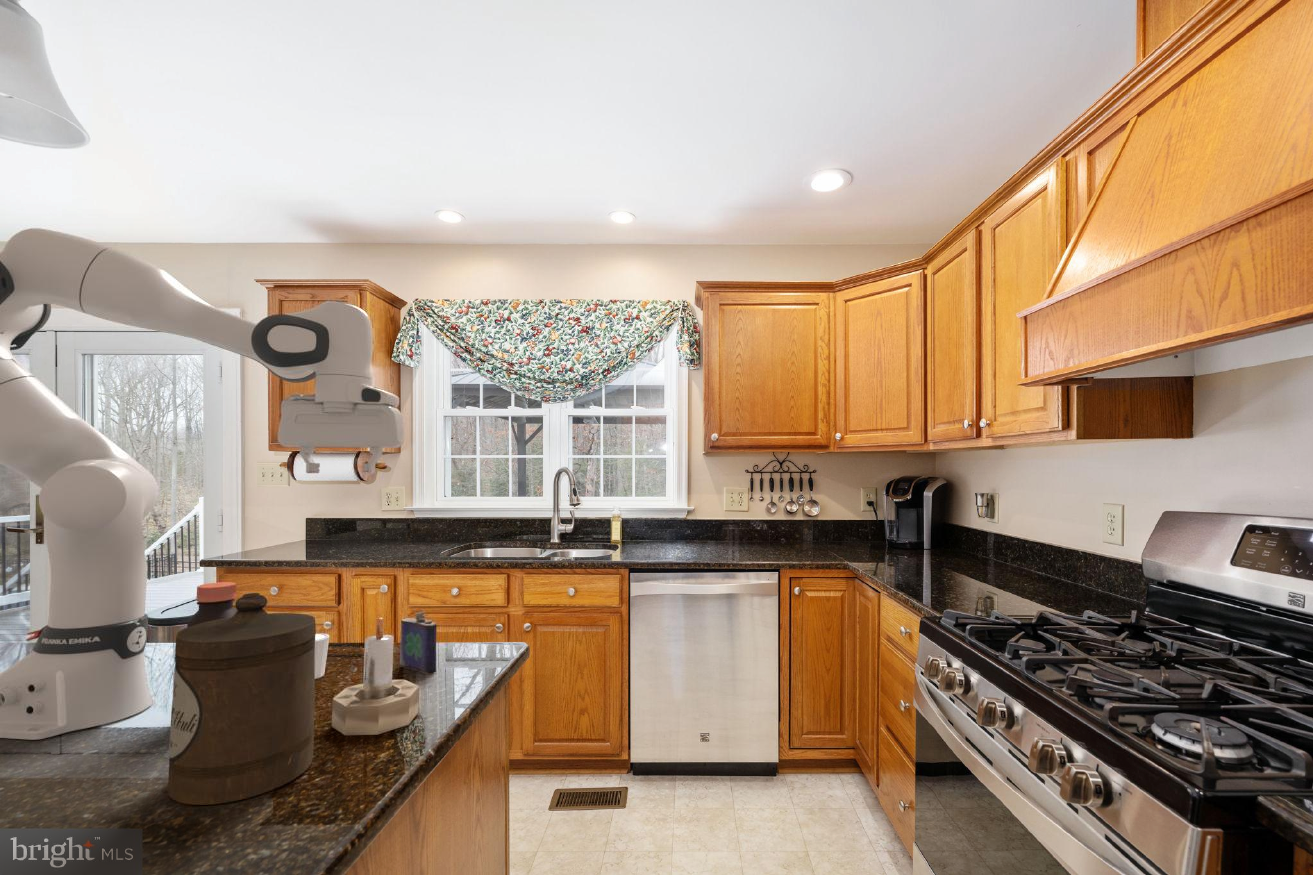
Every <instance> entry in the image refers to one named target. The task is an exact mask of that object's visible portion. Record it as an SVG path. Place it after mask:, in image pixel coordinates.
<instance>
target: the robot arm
mask: <svg viewBox="0 0 1313 875" xmlns="http://www.w3.org/2000/svg"><path fill="white" fill-rule="evenodd" d="M52 305H56V306H60V307H64V308H67V309H71V310H74V311H77V312H81V313H83V314H86V315H90V316H92V317H94V318H95V317H96V318H99V319H103V320H106V321H110V322H113V323H118V324H121V325H126V326H130V327H135V328H140V329H146V330H150V331H157V332H161V333H165V334H166V333H167V334H171V335H176V336H181V337H185V338H189V339H193V340H197V341H199V342H203V343H206V344H208V345H211V346H213V347H217V348H220V349H222V350H227V351H229V352H231V353H234V354H236V355H237V354H238V355H240V356H242V357H246V358H249V359H251V360H254V361H256V362H257V363H259V364H260V365H262V366H263V367H264V368H266V369H267V370H268V371H269V372H270V374H271V373H272V374H273V375H274V376H276V377H277V378H278V379H280V380H282V381H285V382H289V383H295V384H298V383H300V384H301V383H306V382H308V381H311V380H313V379H315V382H314V383H315V384H314V385H315V386H314V394H293V393H292V394H290V395H289V396H287V397H286V398H284V399H283V400H282V401H281V405H280V415H281V416H280V421H279V425H278V431H277V441H278V443H279V444H280V445H281V446H282V447H287V448H299V454H300V456H301V458H302V459H303V461H304V463H305V464H306V465H305V472H306V474H319V473H320V468H321V466H320V465H321V464H320V462H318V463H317V462H315V460H314V458H313V456H312V454H314V452H315V448H369V454H372V455H371V457H370V459H368V460H369V461H368V462H367V463H364V462H363V463H362V468H363V469H362V474H363V475H364V474H369V475H373V474H375V473H376V464H377V463H378V461H380V459H381V457H382V455H383V448H385V449H387V448H393V449H395V448H400V447H401V446H402V445H403V444H404V442H405V429H404V418H403V415H402V412H401V411H400V410H399V409H398V407H399V405H400V397H399V396H397V395H396V394H394V393H391V392H389V391H386V390H383V389H381V388H379V387H376V386H374V387H373V386H372V383H373V378H372V377H373V376H372V374H371V362H372V359H373V352H374V349H373V348H374V342H373V341H374V340H373V339H374V338H373V333H374V332H373V326H372V321H371V319H370V317H369V315H368V314H367V313H366V311H364V310H363V309H362V308H360V307H358V306H356V305H354V304H351V303H348V302H344V301H341V300H326V301H324V302H322V303H320V304H319V305H316V306H314V307H312V308H309V309H305V310H302V311H296V312H290V313H277V314H271V315H269V316H266V317H264V318H263V319H261V320H260V321H259V322H258V323H257V322H253V321H252V320H248V319H246V318H243V317H241V316H238V315H236V314H233V313H231V312H227V311H224V310H222V309H220V308H217V307H215V306H213V305H212V304H209V303H208V302H206V301H204V300H203V299H202V298H200V297H198V296H197V295H196V294H194V293H192V291H191V290H189V289H188V288H187V287H186V286H184V285H183V284H182V283H181V282H179V281H178V280H177V279H176V278H174V277H173V276H172V275H170V274H169V273H168V272H166V271H165V270H163V269H161V268H159V267H158V266H156V265H154V264H153V263H150V262H149V261H147V260H145V259H143V258H141V257H138V256H136V255H134V254H131V253H129V252H126V251H124V250H122V249H118V248H116V247H113V246H110V245H106V244H104V243H101V242H98V241H95V240H92V239H88V238H85V237H82V236H78V235H73V234H69V233H66V232H61V231H57V230H56V231H55V230H51V229H46V228H41V227H40V228H38V227H33V228H26V229H22V230H21V231H19V232H16V233H15V234H14V235H12V236H11V237H10V238H9V240H7V242H6V244H5V245H4V248H3V249H2V251H0V464H1V465H2V466H4V467H6V468H8V469H10V470H12V471H13V472H15V473H17V474H18V475H20V476H22V477H24V478H25V479H26V480H28V481H30V482H32V483H33V484H34V485H36V486H37V487H39V488H40V491H39V495H38V506H39V509H40V511H41V513H42V515H43V522H44V532H45V540H46V546H47V552H48V558H49V566H50V567H49V568H50V587H49V589H50V591H49V607H48V622H47V625H45V626H44V627H41V629H38V630H34V631H31V632H28V633H26V635H27V636H28V635H31V636H29V637H28V638H26V639H25V641H27V642H29V641H33V640H36V639H37V640H36V642H35V644H34V646H33V647H32V648H33V649H32V651H31V652H30V653H29V654H27V655H26V656H24V657H23V658H21V659H19V661H17V662H15V663H14V664H12V665H11V666H10V667H8V668H7V669H5V670H3V671H2V672H1V673H0V738H1V739H13V740H14V739H18V740H36V741H37V740H43V739H46V738H51V737H54V736H58V735H62V734H65V733H69V732H73V731H78V730H82V729H88V728H93V727H99V726H101V725H105V724H106V725H107V724H109V723H113V722H117V721H120V720H123V719H125V718H129V717H131V716H133V715H137V714H138V713H141V712H142V711H144V710H147V708H150V707H151V706H152V704H154V699H153V696H152V693H151V690H150V687H149V681H148V677H147V676H148V675H147V669H146V668H147V667H146V658H145V649H146V644H147V640H148V630H149V628H148V627H149V626H148V625H149V616H148V614H147V613H145V612H146V599H147V597H146V595H147V580H148V579H147V578H148V562H147V559H146V553H145V552H146V551H145V544H144V543H145V542H144V532H143V531H144V530H143V528H144V526H143V519H144V518H145V517H146V516H148V515H149V514H150V513H151V512H152V511H153V510H154V509H155V507H156V504H157V502H158V500H159V496H160V495H159V492H160V491H159V490H160V489H159V485H158V482H157V480H156V478H155V477H154V475H153V474H152V473H151V472H150V471H149V470H147V468H145V467H144V466H143V465H142V464H141V463H139V462H138V461H137V460H136V459H134V458H133V456H131V455H129V454H128V452H126V451H124V449H122V448H121V447H119V445H117V444H116V443H114V442H113V441H112V440H111V439H110V438H108V437H107V436H106V435H104V434H103V433H102V432H100V431H99V430H98V429H96V428H95V427H94V426H93V425H91V424H90V423H89V422H88V421H86V420H85V419H83V418H82V417H81V416H80V415H79V414H78V413H76V412H75V411H74V410H73V409H72V408H71V407H70V406H69V405H67V404H66V402H64V401H63V400H62V399H61V398H59V397H58V396H57V395H56V393H54V392H53V391H52V390H51V389H50V388H48V387H47V386H46V385H45V384H44V383H43V382H42V381H40V380H39V379H38V378H37V377H36V376H35V375H34V374H33V373H32V372H30V371H29V370H28V369H27V368H26V367H25V366H24V365H23V364H22V363H20V362H19V361H18V360H17V359H16V358H15V356H14V355H13V353H12V352H11V351H15V350H19V349H21V348H23V347H24V345H26V344H27V342H28V341H29V340H30V338H32V336H33V335H35V334H36V333H37V332H39V331H40V330H41V329H42V328H43V327H44V326H45V325H46V324H47V322H48V321H49V319H50V316H51V314H52ZM33 634H34V635H33ZM32 635H33V636H32Z"/></svg>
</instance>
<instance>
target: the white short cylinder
mask: <svg viewBox="0 0 1313 875" xmlns="http://www.w3.org/2000/svg"><path fill="white" fill-rule="evenodd" d="M329 642H330V635H329V633H325V632H324V633H323V632H321V633H320V632H316V635H315V680H316V679H320V678H322V677H323V676H325V672H326V664H327V657H328V650H329V649H328V648H329Z"/></svg>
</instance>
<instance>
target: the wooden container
mask: <svg viewBox="0 0 1313 875" xmlns="http://www.w3.org/2000/svg"><path fill="white" fill-rule="evenodd" d="M267 605H268V598H267V597H266V596H265V595H263V594H262V595H261V594H260V593H259V592H250V593H245V594H243V595H242V596H241V597H238V598H237V599H235V609H236V610H237V612H236V613H235V614H234V616H233V617H230V618H224V619H218V620H213V621H208V622H204V623H200V624H196V625H193V626H190V627H187V626H186V627H185V628H183V629H181V630H180V631H178V632H177V634H176V637H175V647H174V653H175V654H174V659H175V660H174V662H175V664H174V674H173V685H172V686H173V687H172V688H173V689H172V704H171V713H170V727H169V729H170V731H169V750H168V751H169V753H168V754H169V755H168V761H169V762H168V782H167V792H168V796H169V797H170V798H171V799H172V800H173V801H175V802H178V803H180V804H184V805H192V806H193V805H194V806H203V805H204V806H208V805H209V806H210V805H218V804H221V805H222V804H226V803H232V802H236V801H242V800H246V799H250V798H253V797H256V796H260V795H263V794H266V793H268V792H270V791H273V790H275V789H278V788H280V787H282V786H284V785H287V784H288V783H290V782H292V781H294V780H295V779H297V778H298V777H300V776H301V775H302V774H304V773H305V771H307V770H308V769H309V768H310V766H311V765H312V762H313V759H314V741H315V740H314V739H315V738H314V731H315V706H316V705H315V703H316V702H315V701H316V699H315V698H316V692H315V691H316V690H315V689H316V688H315V684H316V682H315V680H316V679H315V635H316V633H317V629H316V618H315V617H314V616H313V615H309V614H304V613H294V612H293V613H292V612H291V613H290V612H289V613H287V612H285V613H284V612H277V613H275V612H271V613H268V612H267V611H266V610H265V609H264V608H265V607H266V606H267Z"/></svg>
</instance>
